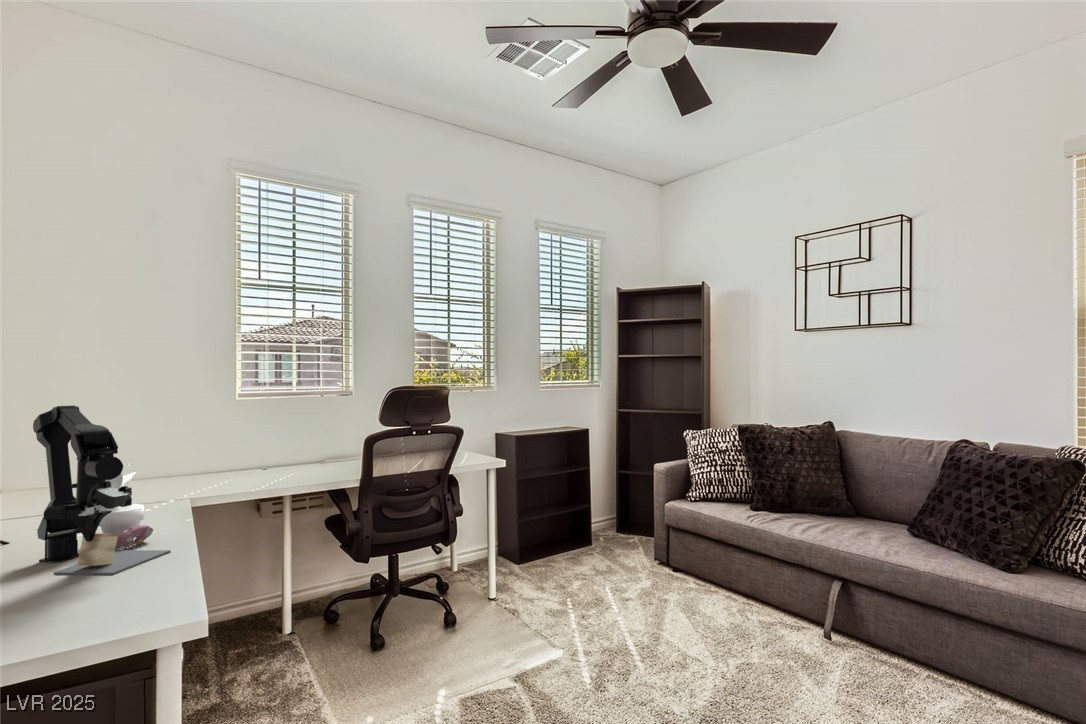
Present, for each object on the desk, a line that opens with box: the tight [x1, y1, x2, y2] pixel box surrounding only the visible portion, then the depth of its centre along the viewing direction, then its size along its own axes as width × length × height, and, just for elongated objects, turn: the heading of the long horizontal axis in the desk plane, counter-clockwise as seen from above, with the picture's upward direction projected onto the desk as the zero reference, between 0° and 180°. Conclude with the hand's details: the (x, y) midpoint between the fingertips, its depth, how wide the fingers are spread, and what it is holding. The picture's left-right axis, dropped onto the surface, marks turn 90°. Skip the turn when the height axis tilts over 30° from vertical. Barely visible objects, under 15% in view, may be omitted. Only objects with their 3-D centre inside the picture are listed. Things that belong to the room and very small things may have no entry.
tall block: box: [76, 532, 118, 566], centre depth 139 cm, size 5×5×8 cm
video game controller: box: [115, 524, 154, 550], centre depth 158 cm, size 10×5×7 cm, turn 169°
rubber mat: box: [53, 549, 171, 576], centre depth 143 cm, size 16×18×1 cm
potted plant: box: [98, 459, 145, 536], centre depth 165 cm, size 13×12×25 cm
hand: (89, 541), depth 137 cm, fingers closed
